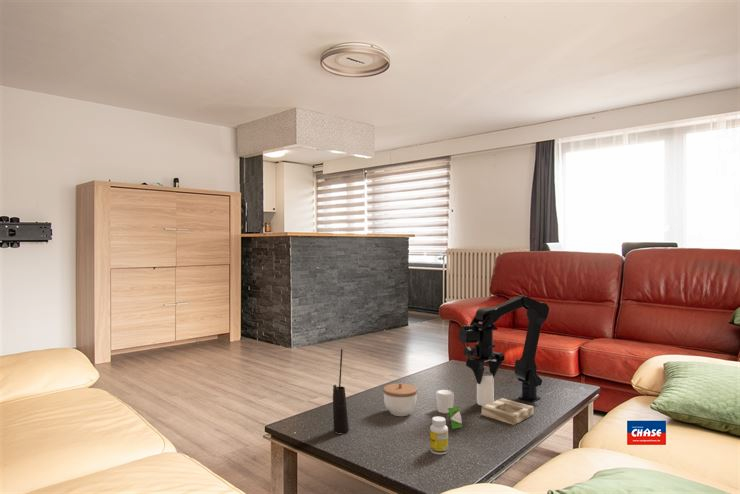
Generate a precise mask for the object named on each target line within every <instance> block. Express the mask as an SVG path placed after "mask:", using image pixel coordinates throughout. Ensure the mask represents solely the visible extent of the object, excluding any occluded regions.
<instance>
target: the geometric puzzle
mask: <svg viewBox="0 0 740 494" xmlns="http://www.w3.org/2000/svg"><path fill="white" fill-rule="evenodd" d="M448 410H449V413H446V414H445V416H444V417H447V416H448V414H449V418H448V420H450V422H449V421H447V420H446V422H447V424H448V423H449V424H450V425H451V426H450V425H449V424H448V425H449V426H450V427H451V429H452V430H453V429H457V428H463V421H462V417H465V418H464V420H466V417H467V416H466V414H465V413H464V412H463V411H462V414H463V415H461V411H460V409H459V406H455V407H454V406H453V408H448Z"/></svg>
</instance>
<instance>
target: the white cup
mask: <svg viewBox="0 0 740 494" xmlns="http://www.w3.org/2000/svg"><path fill="white" fill-rule="evenodd" d="M435 395H436V396H435V397H436V405H437V406H436V407H437V412H439V413H440V414H449V410H448V408H453V407H454V403H455V402H454V401H455V391H453V390H450V389H438V390H436V391H435Z"/></svg>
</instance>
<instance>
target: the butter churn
mask: <svg viewBox="0 0 740 494" xmlns="http://www.w3.org/2000/svg"><path fill="white" fill-rule="evenodd" d="M343 350H344V349H343V348H341V349H340V362H339V378H338V380H339V381H338V386H337V385H336V384H333V385H332V387H333V388H332V410H333V411H332V412H333V418H332V419H333V432H334V431H335V432H337V433H345V434H347V433H346V432H348V431H349V432H350V426H349V425H350V424H349V418H348V407H347V399H346V398H347V397H346V389H345V386H341V384H342V383H341V382H342V381H341V380H342V367H343V366H342V365H343ZM335 432H334V433H335ZM349 432H348V433H349Z"/></svg>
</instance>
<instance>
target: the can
mask: <svg viewBox="0 0 740 494" xmlns="http://www.w3.org/2000/svg"><path fill="white" fill-rule="evenodd" d="M494 379H495V377H494V378H493V374H492V373H490V371H484V373H483V377H482V380H481V384H478V383H477V382H476V404H477V405H478V406H481V407H482V406H485V405H487V404H489V403H492V402H494V401H495V396H494V394H495V386H494V385H495V383H494V381H495V380H494Z"/></svg>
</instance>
